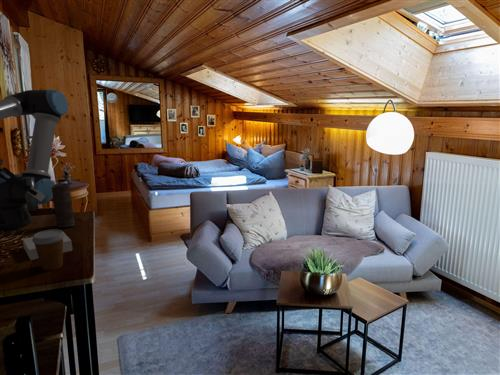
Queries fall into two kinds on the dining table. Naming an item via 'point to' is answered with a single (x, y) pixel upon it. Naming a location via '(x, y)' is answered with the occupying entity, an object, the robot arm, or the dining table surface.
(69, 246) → the hole block
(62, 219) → the candle
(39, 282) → the dining table surface
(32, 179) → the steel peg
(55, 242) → the disposable coffee cup
